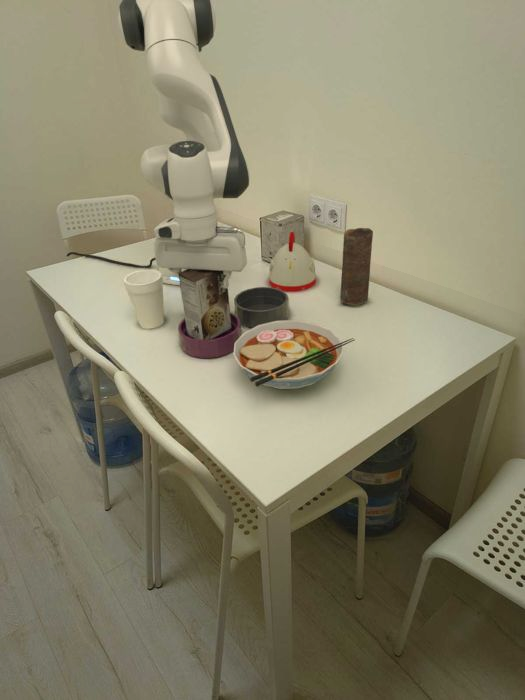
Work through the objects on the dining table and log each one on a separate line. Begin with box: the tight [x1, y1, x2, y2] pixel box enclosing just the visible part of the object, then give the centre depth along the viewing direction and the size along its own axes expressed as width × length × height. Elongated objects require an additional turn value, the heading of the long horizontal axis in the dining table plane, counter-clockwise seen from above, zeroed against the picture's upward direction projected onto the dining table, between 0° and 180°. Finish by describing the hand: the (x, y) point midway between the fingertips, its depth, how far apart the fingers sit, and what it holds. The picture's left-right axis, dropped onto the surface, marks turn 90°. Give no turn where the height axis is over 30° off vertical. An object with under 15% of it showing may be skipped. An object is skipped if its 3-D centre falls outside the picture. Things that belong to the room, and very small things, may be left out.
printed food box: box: [178, 269, 232, 340], centre depth 110 cm, size 9×6×16 cm
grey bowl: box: [233, 286, 290, 329], centre depth 125 cm, size 14×14×5 cm
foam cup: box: [122, 269, 165, 330], centre depth 123 cm, size 10×9×13 cm
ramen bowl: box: [232, 319, 356, 390], centre depth 101 cm, size 25×23×8 cm
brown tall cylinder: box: [339, 227, 374, 306], centre depth 125 cm, size 8×7×20 cm
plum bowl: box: [177, 311, 243, 359], centre depth 115 cm, size 15×15×5 cm
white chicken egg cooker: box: [268, 231, 317, 293], centre depth 139 cm, size 14×14×15 cm
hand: (204, 286), depth 108 cm, fingers closed on printed food box, 8 cm apart
